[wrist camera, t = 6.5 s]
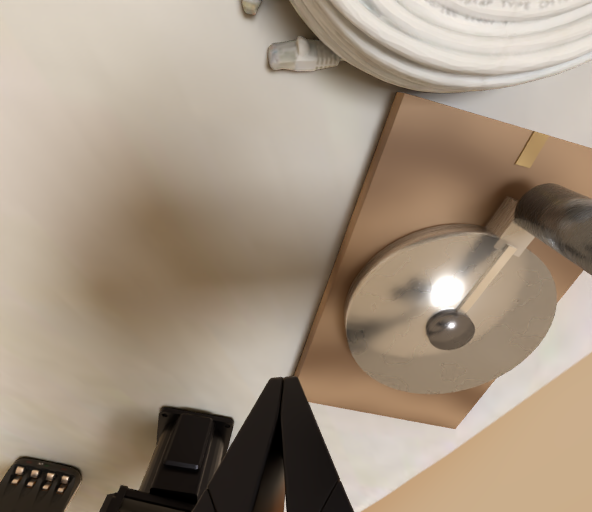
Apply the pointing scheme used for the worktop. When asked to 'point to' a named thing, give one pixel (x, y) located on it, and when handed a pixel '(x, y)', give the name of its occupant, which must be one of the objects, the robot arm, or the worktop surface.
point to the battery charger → (38, 487)
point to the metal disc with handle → (465, 294)
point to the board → (425, 214)
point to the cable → (440, 40)
